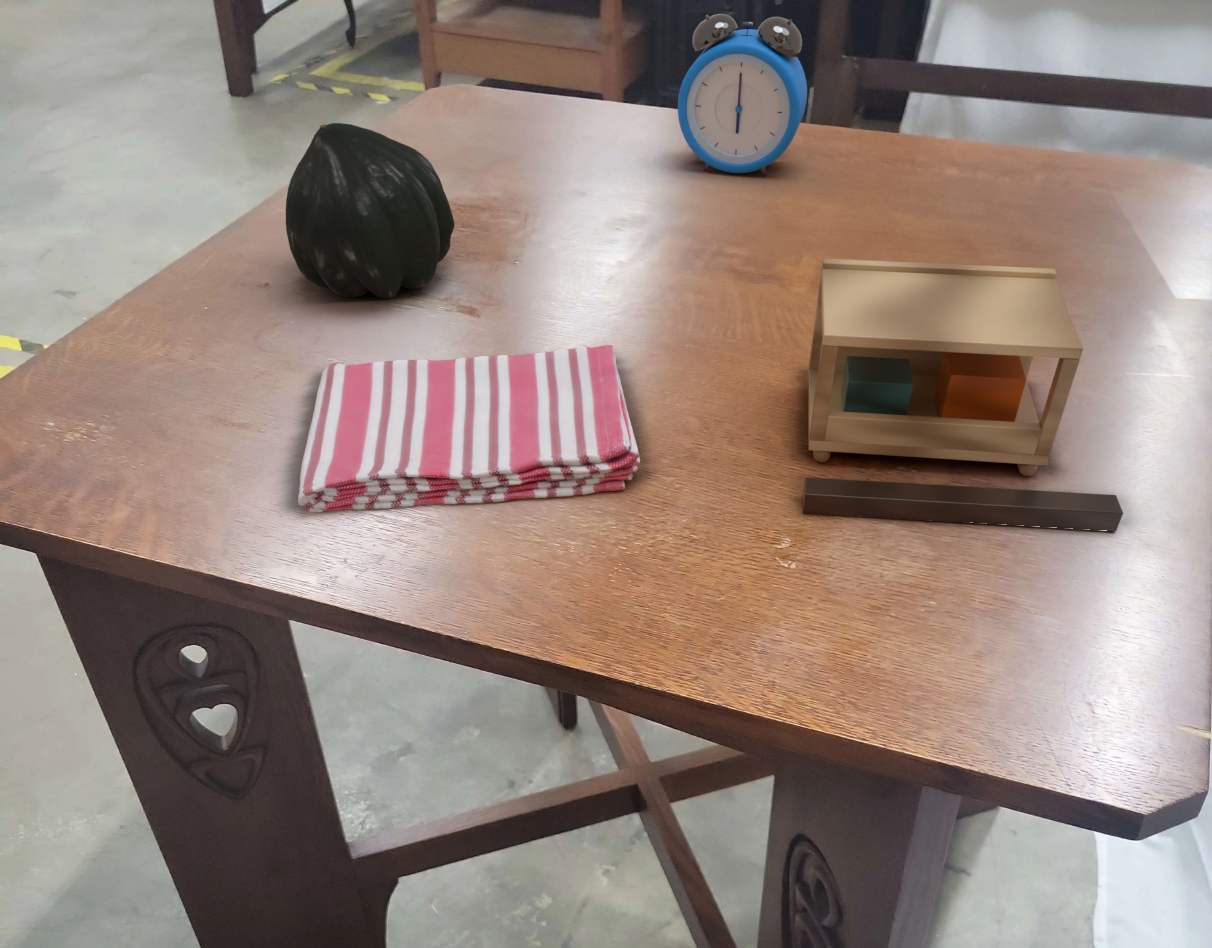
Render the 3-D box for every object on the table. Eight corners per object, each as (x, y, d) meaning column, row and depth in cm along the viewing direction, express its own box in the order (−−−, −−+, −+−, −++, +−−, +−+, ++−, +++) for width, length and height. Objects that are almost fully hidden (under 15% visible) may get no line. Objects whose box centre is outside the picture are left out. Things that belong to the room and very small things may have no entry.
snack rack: (1018, 398, 81) (1055, 268, 74) (1042, 480, 73) (1085, 342, 66) (806, 386, 82) (822, 257, 75) (806, 464, 74) (824, 328, 67)
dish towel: (643, 492, 72) (643, 449, 70) (297, 518, 71) (286, 475, 68) (615, 368, 85) (614, 328, 83) (321, 388, 83) (312, 347, 81)
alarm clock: (674, 171, 117) (678, 20, 107) (687, 152, 122) (692, 5, 112) (792, 181, 114) (808, 27, 104) (801, 161, 119) (816, 12, 109)
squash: (483, 185, 100) (355, 62, 92) (481, 259, 89) (337, 126, 81) (385, 283, 106) (258, 176, 98) (373, 363, 95) (228, 249, 87)
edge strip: (1108, 514, 70) (1116, 494, 69) (1116, 532, 68) (1123, 512, 67) (802, 496, 72) (804, 476, 71) (802, 513, 70) (805, 494, 69)
